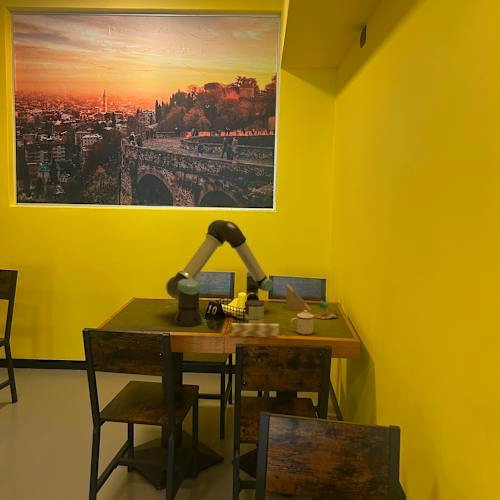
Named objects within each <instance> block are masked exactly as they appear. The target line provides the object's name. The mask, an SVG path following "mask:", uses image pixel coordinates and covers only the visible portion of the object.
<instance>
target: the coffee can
mask: <svg viewBox="0 0 500 500" xmlns="http://www.w3.org/2000/svg"><path fill="white" fill-rule="evenodd" d="M263 301H264V300H263ZM263 301H262V300H260V299H259V300H249V301H246V302H245V305H244V306H245V308H244V312H245V314H244V323H256V324H265V323H264V321H265V301H264V302H263Z"/></svg>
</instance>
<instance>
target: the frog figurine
mask: <svg viewBox="0 0 500 500" xmlns="http://www.w3.org/2000/svg"><path fill="white" fill-rule="evenodd" d="M326 298H327V294H325V295H324V297H323V299H321V301H320V303H319V305H316V307H317V308H319V309H318V313H316V314H313V315H314V318H315V319H322V320H326V319H331V318H333V319H341V316H340V314H339V313H338V312H337V310H333V309H331V308H330V307H329V303H328V301H327V300H326ZM327 309H328V310H330V309H331V310H330V312H329V311H328V310H327ZM323 311H325V313H324V312H323ZM322 312H323V313H322ZM332 312H334V313H332Z"/></svg>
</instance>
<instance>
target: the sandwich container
mask: <svg viewBox="0 0 500 500" xmlns="http://www.w3.org/2000/svg"><path fill="white" fill-rule="evenodd" d="M285 299H286V301H285V310H286V311H287V310H288V311H301V312H304V310H307V311H308V312H311V311H312V308H311V307H310V305H308V303H307V302H306V301H305V300H304V299H303V298H302V297H301V296H300V295H299V293H298V292H296V290H295V289H294V288H293V287H292V286H291V285H290V284H289V283H287V285H286V297H285Z"/></svg>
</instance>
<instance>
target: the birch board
mask: <svg viewBox="0 0 500 500" xmlns="http://www.w3.org/2000/svg"><path fill="white" fill-rule="evenodd" d="M245 336H253V338H254V337H255V338H257V337H258V338H259V337H261V338H269V337H268V336H279V337H280V324H279V323H264V324H256V323H245V322H244V323H243V322H241V323H240V322H239V323H238V322H232V323H231V337H245Z"/></svg>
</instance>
